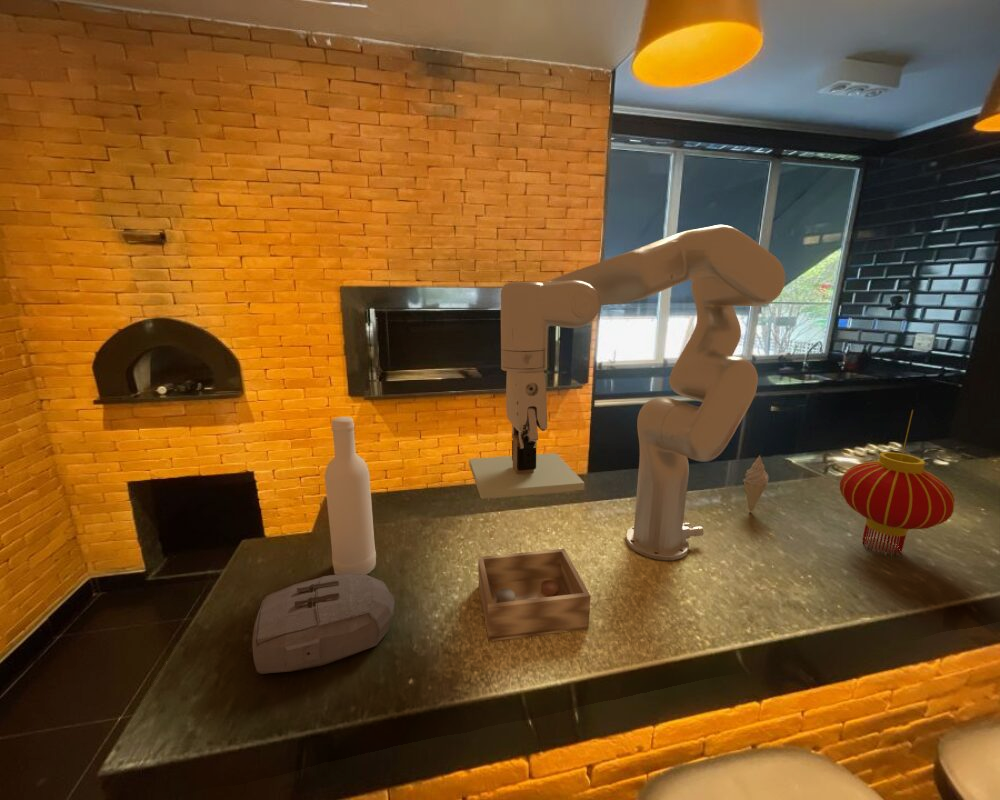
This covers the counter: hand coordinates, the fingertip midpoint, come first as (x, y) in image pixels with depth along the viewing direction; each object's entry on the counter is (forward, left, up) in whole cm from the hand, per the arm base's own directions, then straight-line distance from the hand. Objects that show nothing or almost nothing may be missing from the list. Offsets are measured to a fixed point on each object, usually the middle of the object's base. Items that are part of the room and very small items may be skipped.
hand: (523, 464), depth 74 cm
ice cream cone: (-61, -16, -23) cm, 67 cm away
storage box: (0, +7, -23) cm, 24 cm away
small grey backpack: (+32, +8, -23) cm, 41 cm away
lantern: (-77, +2, -23) cm, 80 cm away
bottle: (+31, -9, -23) cm, 40 cm away
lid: (0, 0, -2) cm, 2 cm away
